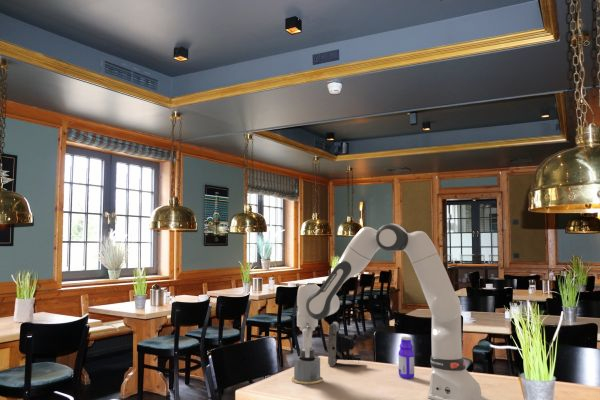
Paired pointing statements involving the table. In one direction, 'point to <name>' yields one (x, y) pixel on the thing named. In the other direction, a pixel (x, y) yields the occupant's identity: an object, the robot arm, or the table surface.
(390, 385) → the table surface
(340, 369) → the table surface
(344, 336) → the vintage camera
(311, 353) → the camera lens
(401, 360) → the bottle
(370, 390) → the table surface
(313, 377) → the lens barrel
